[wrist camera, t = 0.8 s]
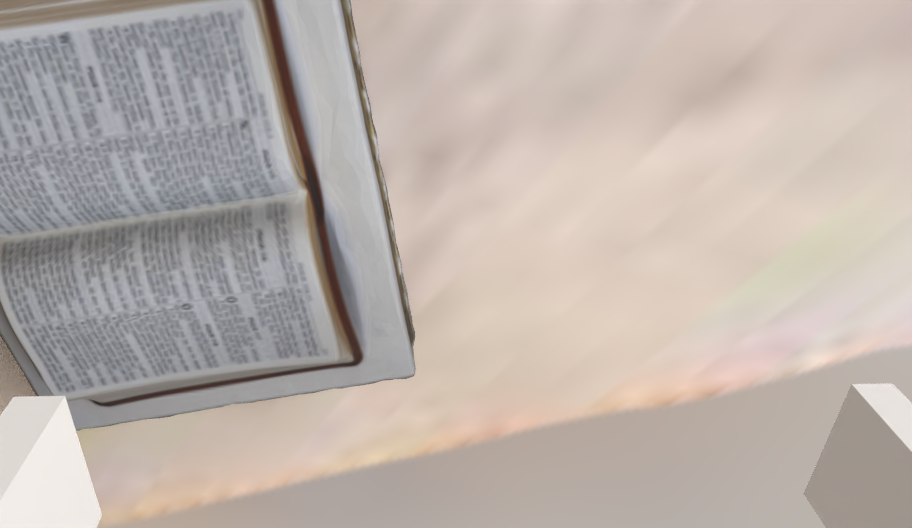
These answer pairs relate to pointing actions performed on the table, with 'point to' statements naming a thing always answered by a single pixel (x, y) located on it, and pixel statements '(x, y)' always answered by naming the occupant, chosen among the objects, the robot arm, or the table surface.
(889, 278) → the table surface
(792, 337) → the table surface
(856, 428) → the robot arm
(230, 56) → the bible
